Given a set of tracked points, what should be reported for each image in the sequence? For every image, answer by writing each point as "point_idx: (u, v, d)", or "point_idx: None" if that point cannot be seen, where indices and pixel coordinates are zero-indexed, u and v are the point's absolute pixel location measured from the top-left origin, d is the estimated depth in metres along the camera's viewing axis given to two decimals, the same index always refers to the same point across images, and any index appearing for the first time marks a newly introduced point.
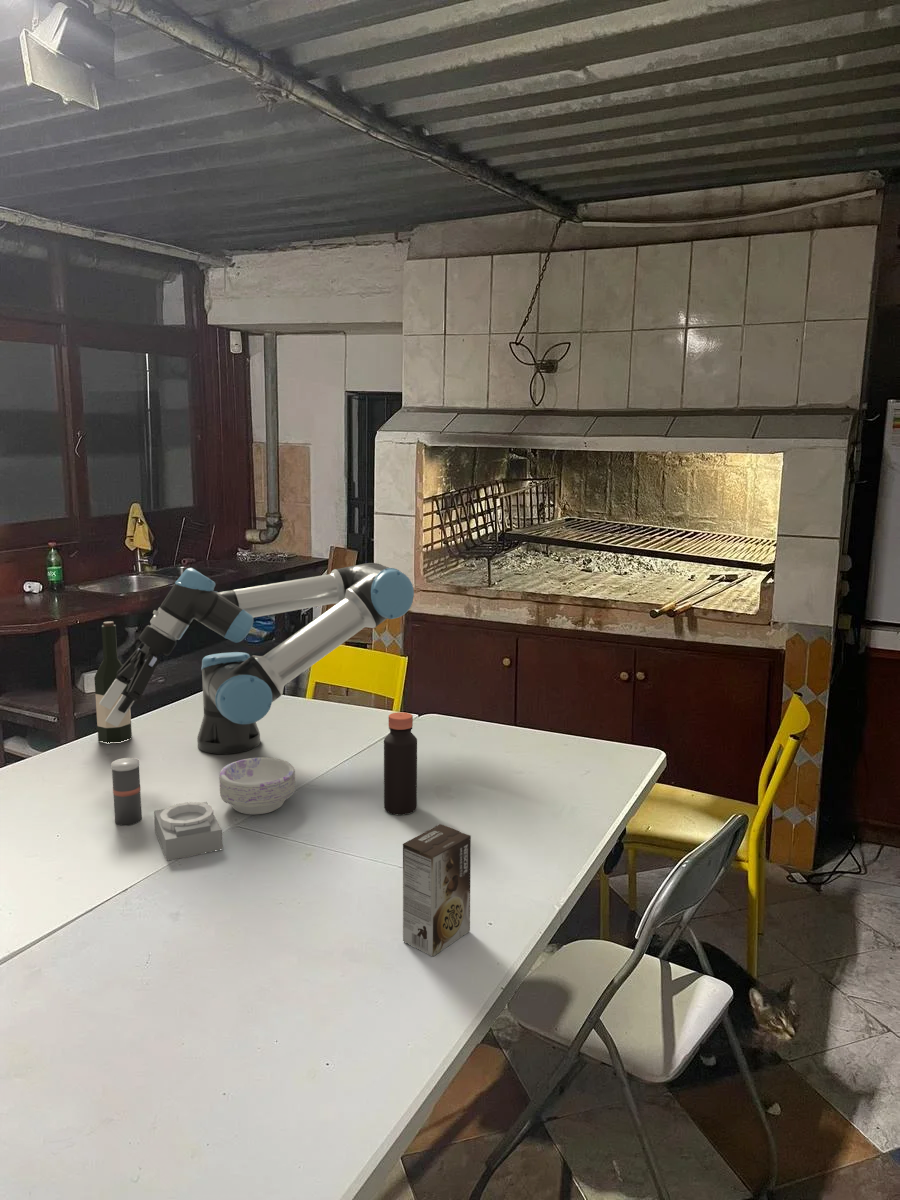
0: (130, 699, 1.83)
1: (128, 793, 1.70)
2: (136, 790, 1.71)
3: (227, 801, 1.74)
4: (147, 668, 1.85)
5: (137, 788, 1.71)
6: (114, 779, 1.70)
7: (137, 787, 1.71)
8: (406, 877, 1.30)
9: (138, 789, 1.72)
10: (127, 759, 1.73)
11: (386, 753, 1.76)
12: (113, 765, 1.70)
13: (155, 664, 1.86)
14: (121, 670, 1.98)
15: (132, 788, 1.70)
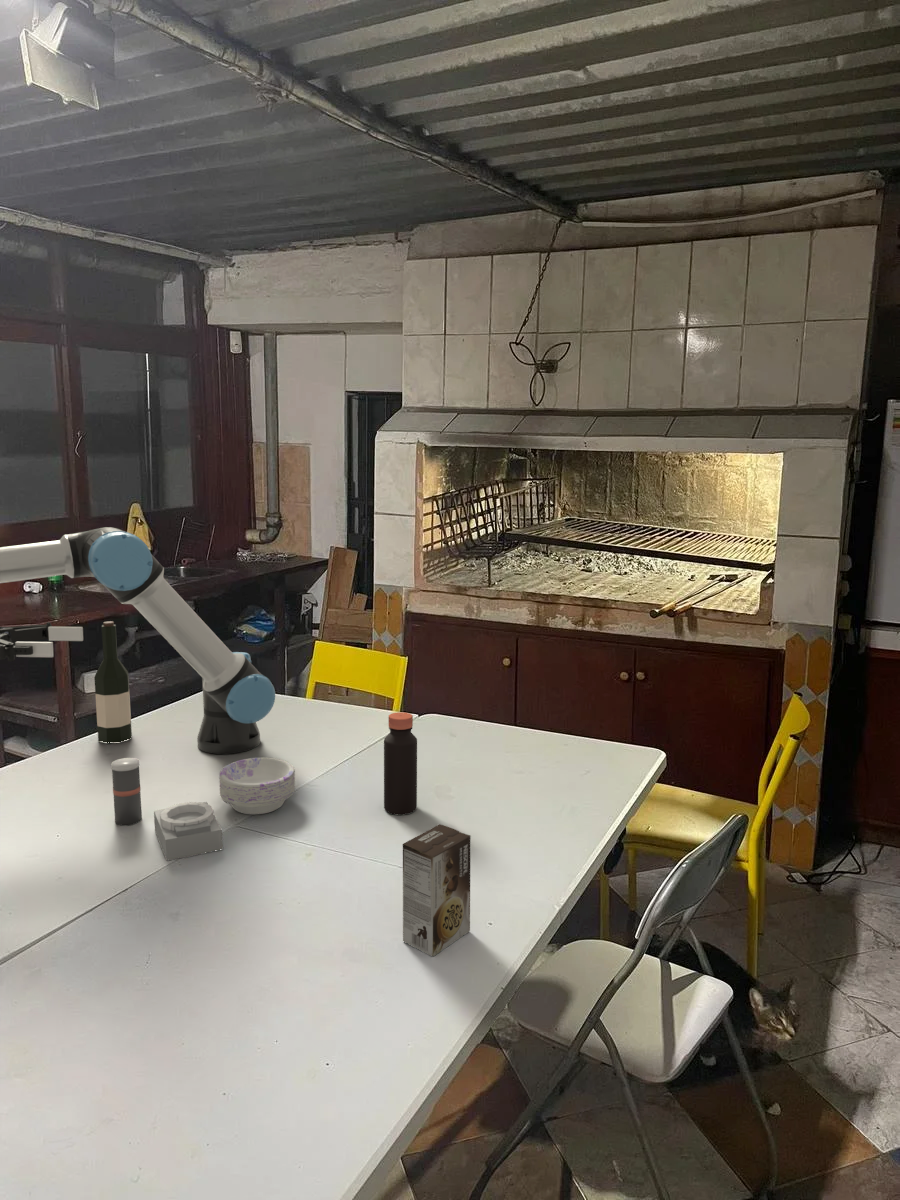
0: (12, 650, 1.58)
1: (128, 793, 1.70)
2: (136, 790, 1.71)
3: (227, 801, 1.74)
4: None
5: (137, 788, 1.71)
6: (114, 779, 1.70)
7: (137, 787, 1.71)
8: (406, 877, 1.30)
9: (138, 789, 1.72)
10: (127, 759, 1.73)
11: (386, 753, 1.76)
12: (113, 765, 1.70)
13: None
14: (43, 636, 1.75)
15: (132, 788, 1.70)
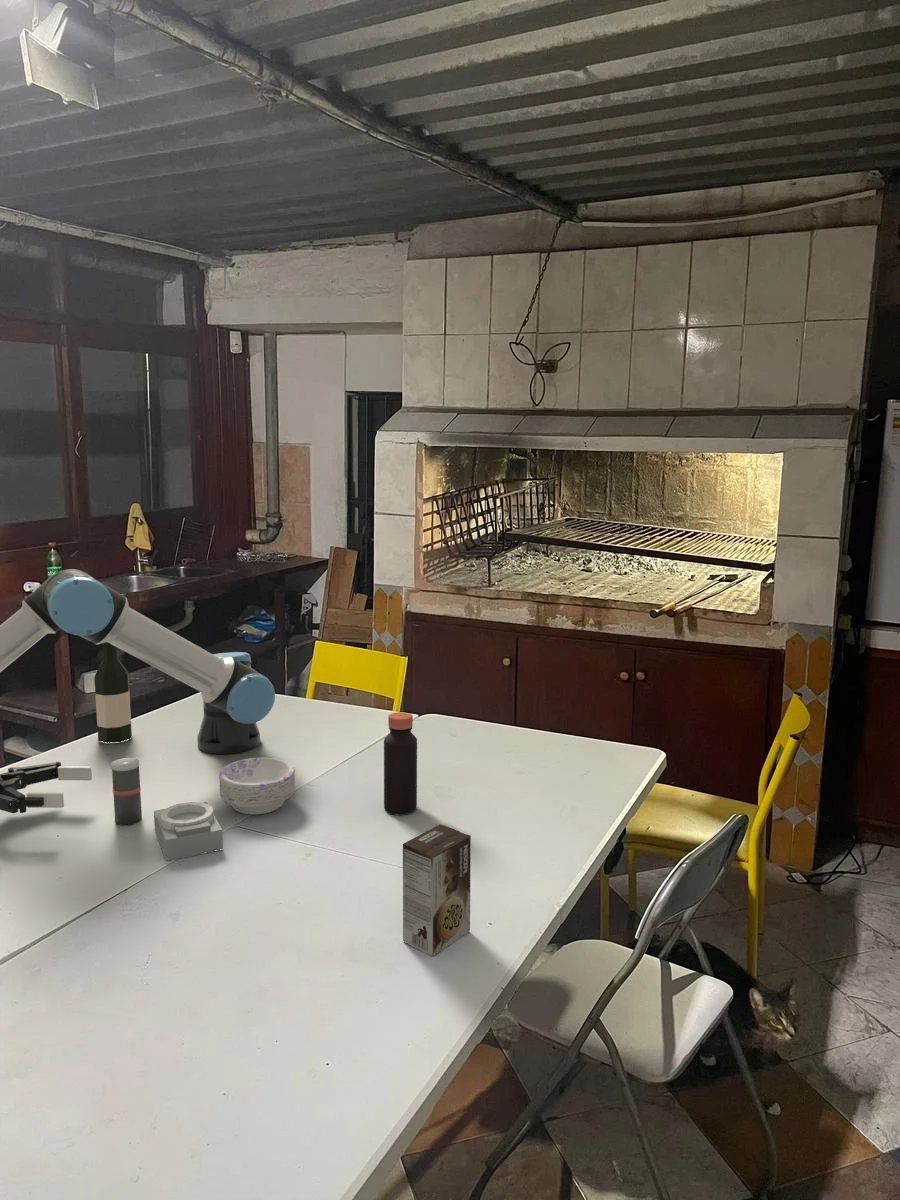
0: (23, 803, 1.63)
1: (128, 793, 1.70)
2: (136, 790, 1.71)
3: (227, 801, 1.74)
4: None
5: (137, 788, 1.71)
6: (114, 779, 1.70)
7: (137, 787, 1.71)
8: (406, 877, 1.30)
9: (138, 789, 1.72)
10: (127, 759, 1.73)
11: (386, 753, 1.76)
12: (113, 765, 1.70)
13: None
14: (53, 774, 1.80)
15: (132, 788, 1.70)
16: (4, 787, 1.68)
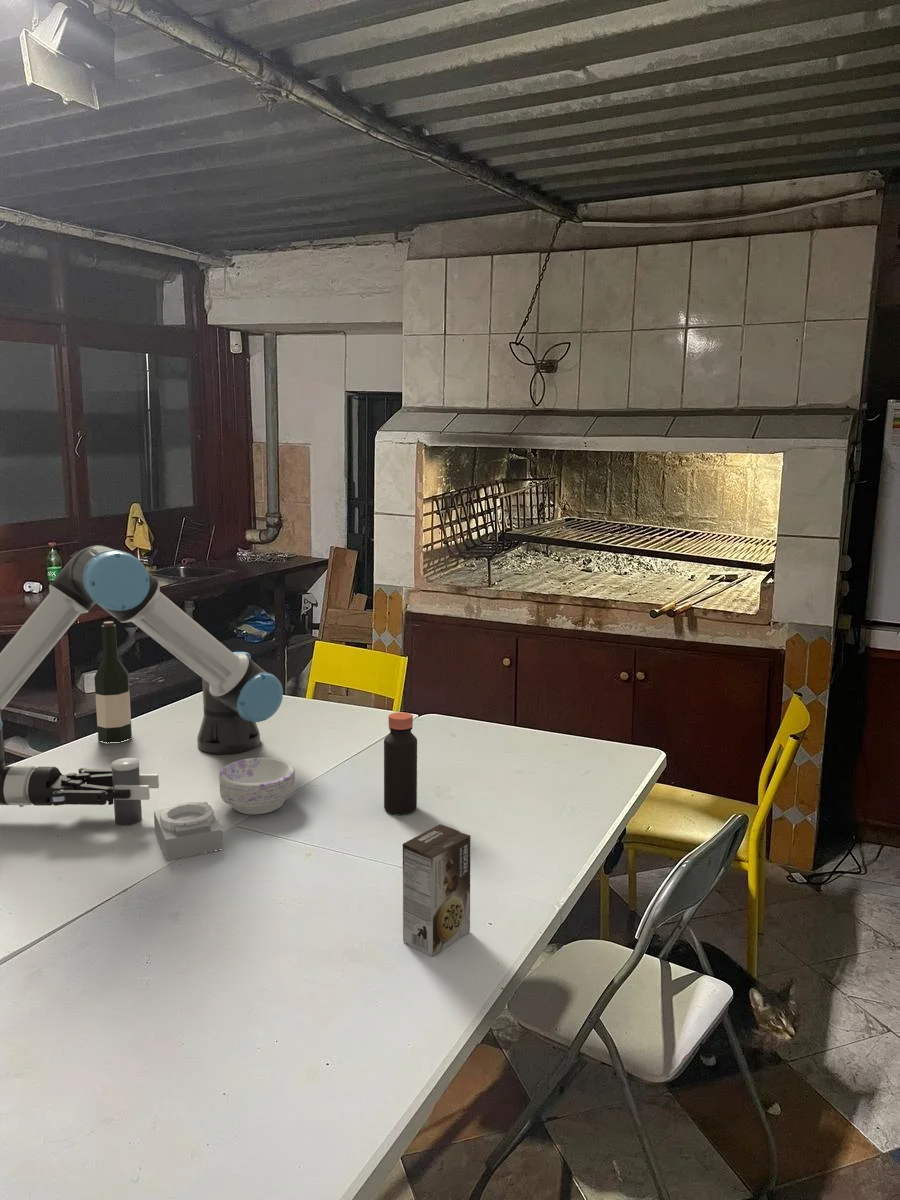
0: (111, 795, 1.68)
1: None
2: None
3: (227, 801, 1.74)
4: (68, 800, 1.66)
5: None
6: (114, 779, 1.70)
7: None
8: (406, 877, 1.30)
9: None
10: (127, 759, 1.73)
11: (386, 753, 1.76)
12: (113, 765, 1.70)
13: (59, 795, 1.66)
14: None
15: None
16: (79, 785, 1.69)
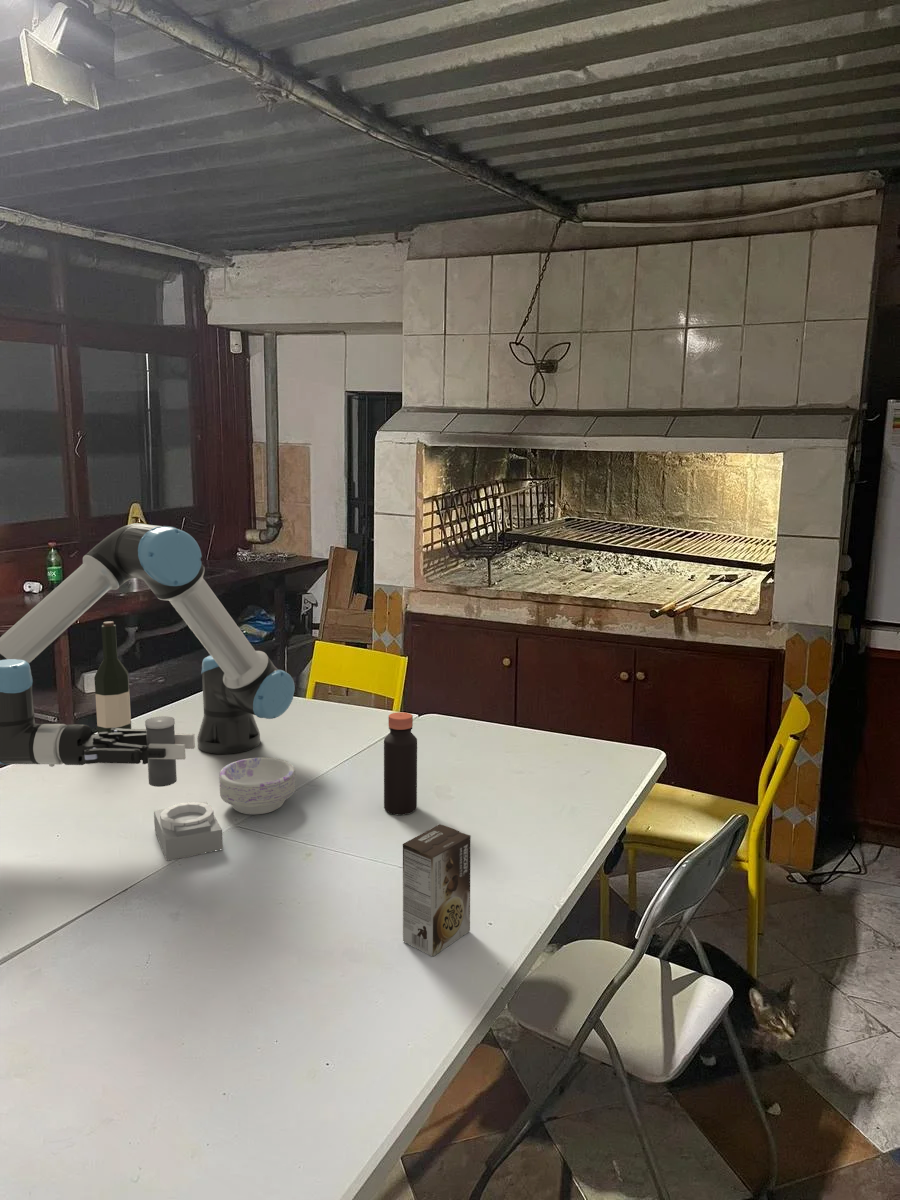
0: (146, 753, 1.59)
1: None
2: None
3: (227, 801, 1.74)
4: (101, 758, 1.57)
5: None
6: (148, 737, 1.61)
7: None
8: (406, 877, 1.30)
9: None
10: (162, 717, 1.64)
11: (386, 753, 1.76)
12: (147, 723, 1.61)
13: (92, 753, 1.57)
14: None
15: None
16: (112, 743, 1.61)
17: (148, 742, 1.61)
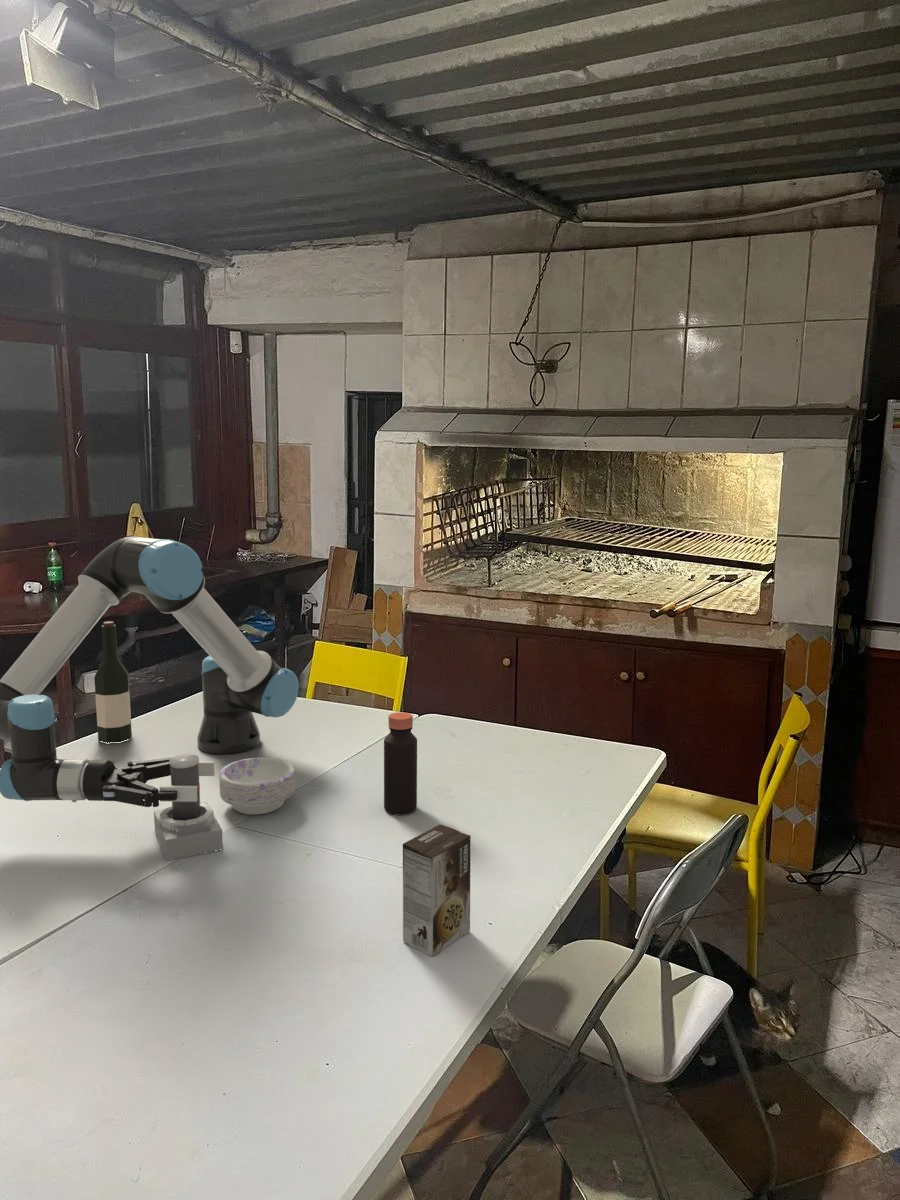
0: (157, 796, 1.55)
1: None
2: None
3: (227, 801, 1.74)
4: (117, 796, 1.56)
5: (197, 786, 1.62)
6: (173, 777, 1.61)
7: (197, 785, 1.62)
8: (406, 877, 1.30)
9: (197, 787, 1.63)
10: (186, 756, 1.64)
11: (386, 753, 1.76)
12: (172, 762, 1.61)
13: (109, 790, 1.56)
14: None
15: None
16: (131, 781, 1.59)
17: (173, 781, 1.61)
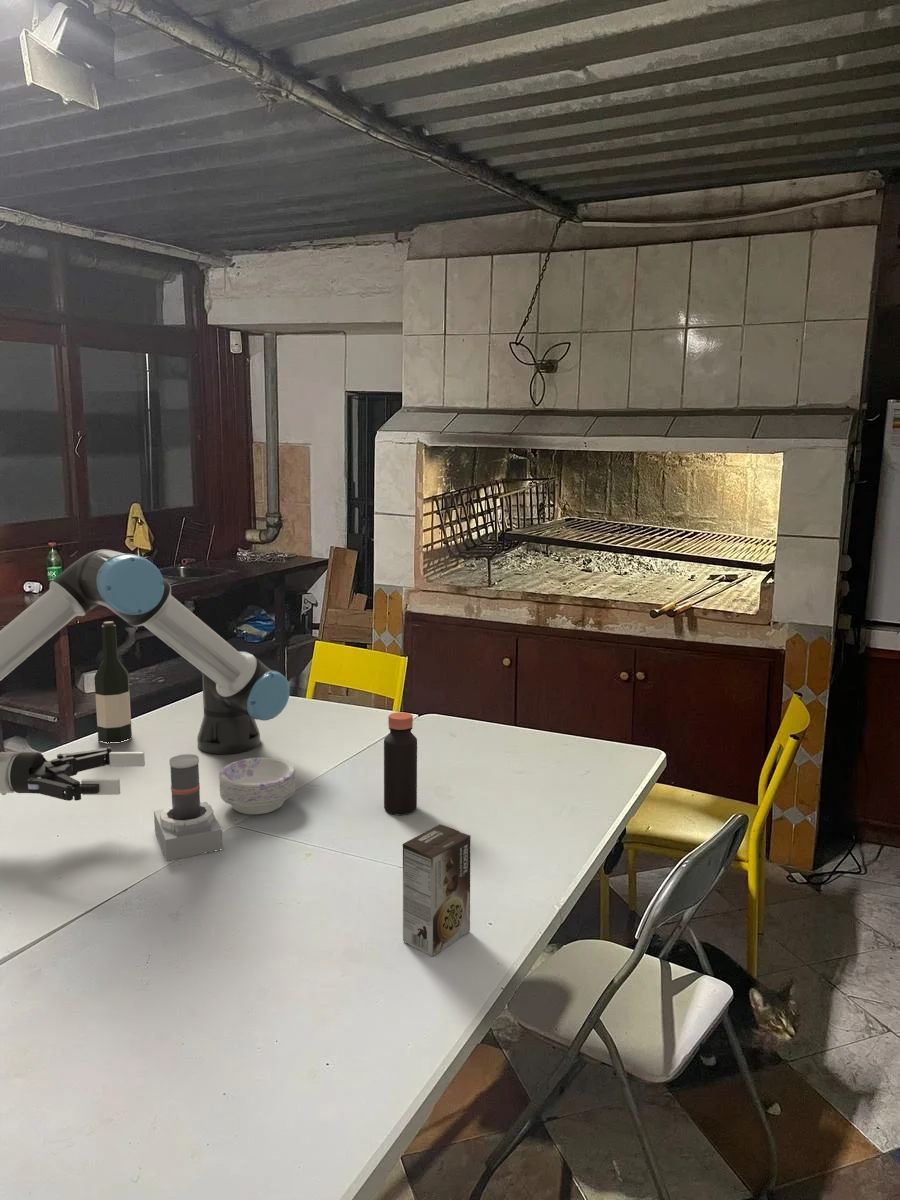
0: (78, 789, 1.55)
1: (188, 791, 1.61)
2: (196, 788, 1.62)
3: (227, 801, 1.74)
4: (41, 789, 1.56)
5: (197, 786, 1.62)
6: (173, 777, 1.61)
7: (197, 785, 1.62)
8: (406, 877, 1.30)
9: (197, 787, 1.63)
10: (186, 756, 1.64)
11: (386, 753, 1.76)
12: (172, 762, 1.61)
13: (33, 782, 1.56)
14: (103, 760, 1.72)
15: (192, 786, 1.61)
16: (56, 774, 1.59)
17: (173, 781, 1.61)
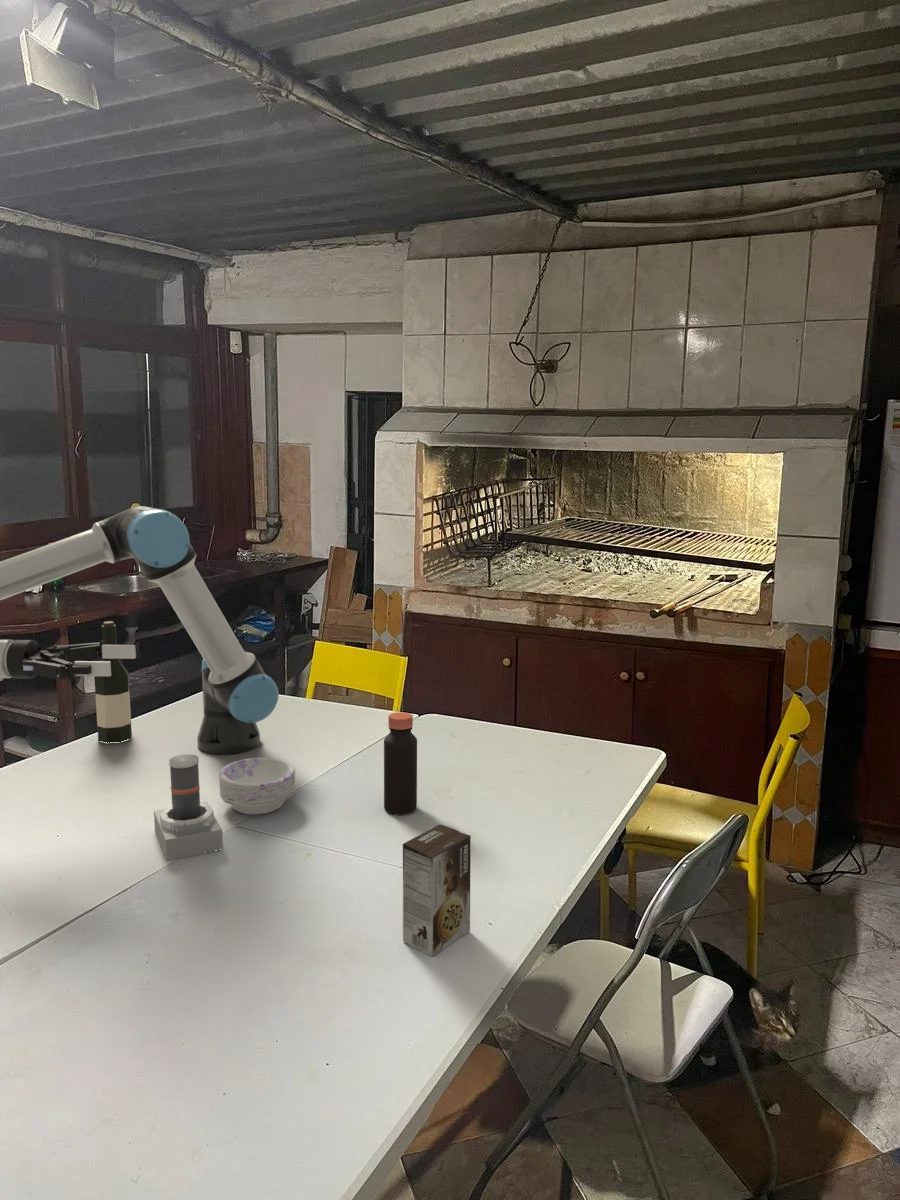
0: (71, 670, 1.62)
1: (188, 791, 1.61)
2: (195, 788, 1.62)
3: (227, 801, 1.74)
4: (35, 670, 1.63)
5: (196, 786, 1.62)
6: (173, 777, 1.61)
7: (196, 785, 1.62)
8: (406, 877, 1.30)
9: (197, 787, 1.63)
10: (186, 756, 1.64)
11: (386, 753, 1.76)
12: (172, 762, 1.61)
13: (28, 664, 1.63)
14: (96, 654, 1.79)
15: (192, 786, 1.61)
16: (50, 657, 1.66)
17: (172, 781, 1.61)
